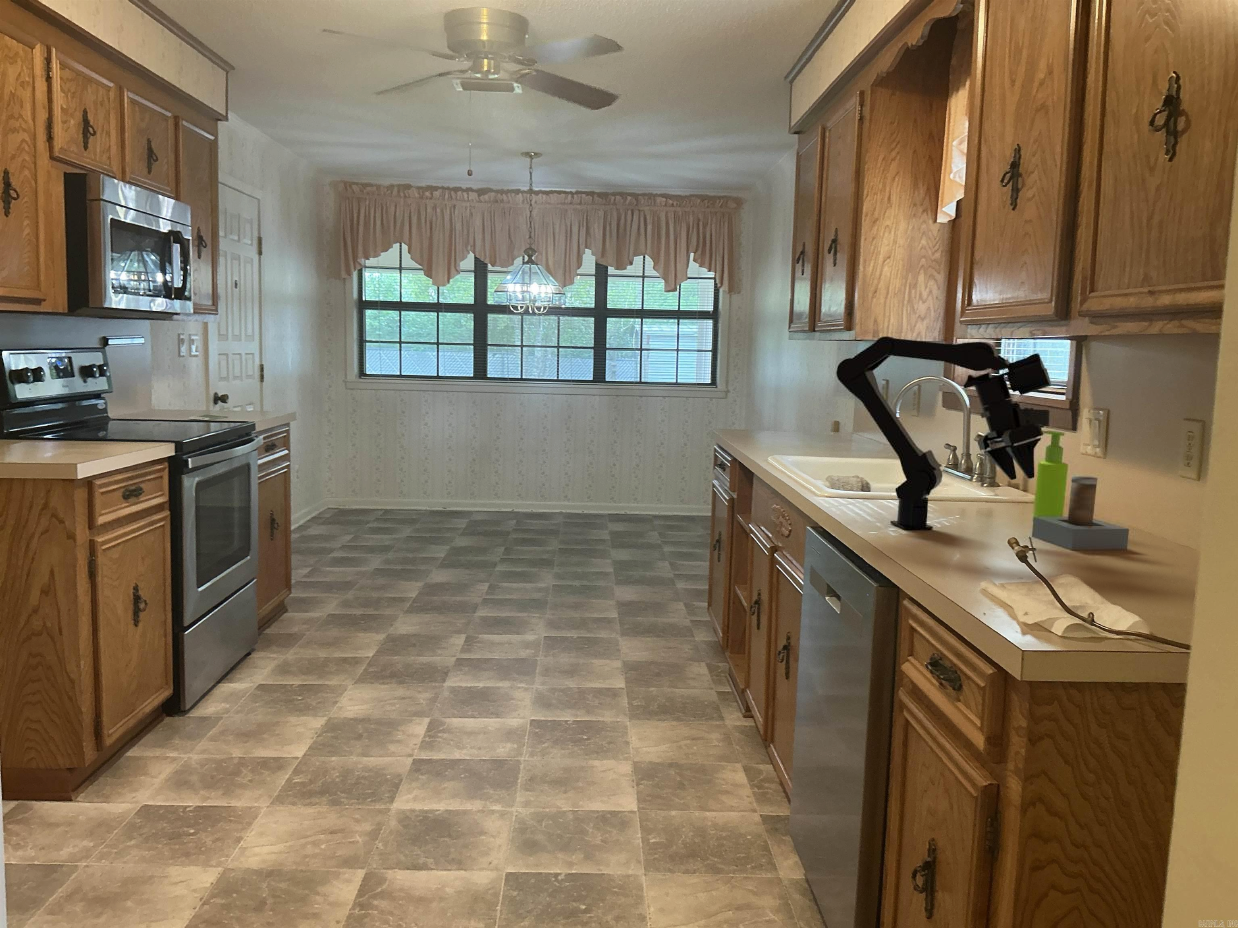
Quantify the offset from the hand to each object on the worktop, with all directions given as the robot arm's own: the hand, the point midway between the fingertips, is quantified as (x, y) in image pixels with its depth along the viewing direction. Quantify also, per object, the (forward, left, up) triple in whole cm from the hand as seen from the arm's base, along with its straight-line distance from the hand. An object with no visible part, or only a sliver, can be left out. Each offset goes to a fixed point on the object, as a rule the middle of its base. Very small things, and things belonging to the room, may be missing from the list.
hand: (1022, 478), depth 181 cm
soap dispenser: (-17, +19, -12) cm, 28 cm away
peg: (+3, +12, -12) cm, 17 cm away
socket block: (+3, +12, -12) cm, 17 cm away
